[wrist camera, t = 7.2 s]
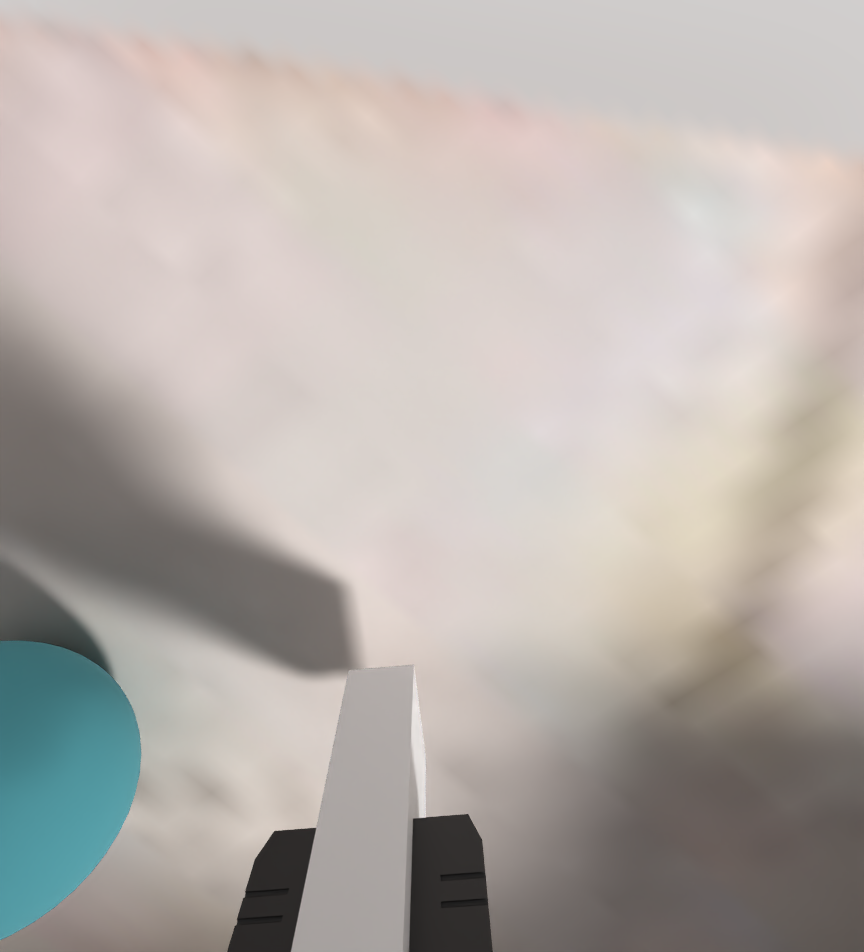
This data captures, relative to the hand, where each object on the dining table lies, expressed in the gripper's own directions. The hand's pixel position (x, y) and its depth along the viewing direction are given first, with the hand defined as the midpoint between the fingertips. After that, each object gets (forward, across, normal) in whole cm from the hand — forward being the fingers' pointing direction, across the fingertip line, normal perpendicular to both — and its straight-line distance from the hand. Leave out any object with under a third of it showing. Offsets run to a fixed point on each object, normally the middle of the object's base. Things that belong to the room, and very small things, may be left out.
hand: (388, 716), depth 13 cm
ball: (-1, +9, 0) cm, 9 cm away
